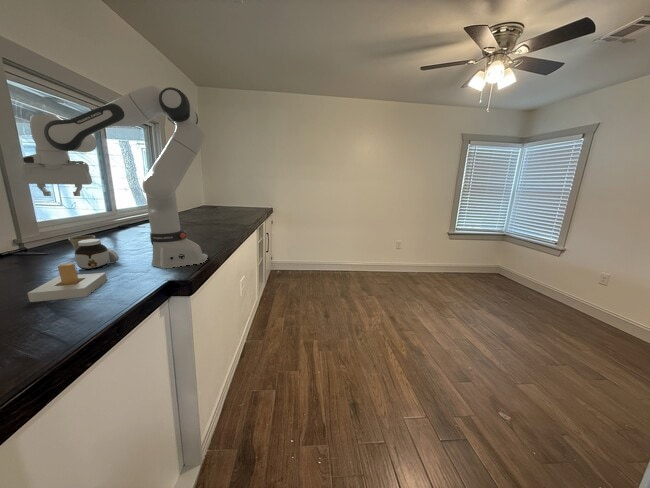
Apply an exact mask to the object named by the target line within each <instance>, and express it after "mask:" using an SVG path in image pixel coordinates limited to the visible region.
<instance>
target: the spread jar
mask: <svg viewBox="0 0 650 488" xmlns="http://www.w3.org/2000/svg"><path fill="white" fill-rule="evenodd" d="M78 245H79V247H78V248H77V249H76V251H75V250H74V259H75V262H76V265H77V267H78V268H80V269H81V270H84V271H96V270H100V269H103V268H105V267H107V265H109V263H112V264H114V263H116V262H119V260H120V257H119V254H118V253H117V252H116V251H114V250H113V249H110V248H107V246H105V245H104V244H103V243H102V242H101V238H100V239H99V238H94V239H87V240H82V241H79V242H78Z"/></svg>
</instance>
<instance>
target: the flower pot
mask: <svg viewBox="0 0 650 488" xmlns="http://www.w3.org/2000/svg"><path fill="white" fill-rule="evenodd" d="M87 239H96V236H95V235H80V236H79V235H78V236H74V237H73V236H72V237H69V238H68V239H67V240H68V241H69V242H70V243H71V244H72V247H73V249H74V252H75V251H76V249H77V248H78V247H79V245H78V242H79V241H82V240H87Z"/></svg>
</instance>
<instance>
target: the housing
mask: <svg viewBox="0 0 650 488" xmlns="http://www.w3.org/2000/svg"><path fill="white" fill-rule="evenodd" d="M77 276H78V280H79V283H78V284H75V285H64V286H63V285H62V281H61V277H60V275H58V276H56V277H54V278H52V279H50V280H49V281H47V282H45V283H43V284H41V285H40V286H37V287H36V288H34V289H33V290H30V291H28V292H27V297H28V300H29V303H36V302H44V301H45V302H46V301H55V300H66V299H68V300H69V299H75V298H77V299H78V298H87V297H88V296H90V294H92V293H93V292H94V291H95V289H96V290H97V289H98V288H99V287H101V286H102V285H103V284H104V283H106V282H107V281H108V277H107V273H106V272H98V273H97V272H96V273H86V274H83V273H82V274H77ZM100 285H101V286H100ZM91 292H92V293H91ZM86 296H87V297H86Z"/></svg>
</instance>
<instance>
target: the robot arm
mask: <svg viewBox="0 0 650 488" xmlns="http://www.w3.org/2000/svg"><path fill="white" fill-rule="evenodd" d="M159 117H166V118H167V120H168V121H169V122H170V123H172V124H173V125H174V126H175V130H174V132H173V133H172V135H171V137H170V138H169V140H168V141H167V143H166V145H165V147H164V148H163V150H162V151H161V153H160V154H159V156H158V157H157V158H156V161H155V162H154V163H153V165H152V167H150V170H149V171H148V173H147V174H146V175H145V177H144V179H143V180H142V189H143V191H144V193H145V197H146V205H147V216H148V222H149V227H150V233H149V237H150V243H151V246H152V261H151V266H153V267H155V268H156V267H157V268H160V269H162V270H163V269H164V270H165V269H166V268H167V269H173V267H175V268H180V266H182V267H187V266H186V265H190V266H194V265H193V264H197V265H201V264H200V263H202V264H204V263H206V262H207V261H208V259H209V258H208V257H209V256H208V254H207V253H203V251H202V249H201V246H200V245H199V244H198V243H196V242H194V241H192V240H190V239H188V237H187V231H186V230H182V229H181V224H180V217H179V210H178V201H177V195H176V191H177V189H178V188H179V186H180V184H181V183H182V181H183V180H184V178H185V176H186V174H187V172H188V170H189V169H190V167H191V165H192V164H193V162H194V160H195V159H196V157H197V155H198V154H199V152H200V149H202V145H203V144H204V143H203V142H204V140H205V137H206V135H205V131H204V130H203V128H202V127H201V126H200V125H199V117H198V114H197V112H196V111H195V108H194V105H193V104H192V102H191V101H190V99H189V98H188V96H187V94H185V93H184V92H183V91H181V90H180V89H179V88H175V87H170V86H169V87H165V88H163V89H162V90H161V89H160V88H159V87H157V86H154V85H148V86H143V87H140V88H137V89H134V90H132V91H130V92H128V93H126V94H124V95H122V96H120V97H118V98H116V99H114V100H112V101H111V102H108V103H106V104H104V105H102V106H98V107H97V108H94V109H92V110H90V111H87V112H85V113H82V114H79V115H78V116H75V117H73V118H70V119H69V118H68V119H62V118H61V117H60V116H58V115H57V114H51V113H36V114H35V113H34V114H33V115H31V116H30V118H29V119H30V120H29V127H30V132H31V138H32V140H33V141H34V143H35V150H34V151H35V153H34V154H30V155H26V156H23V157H19V162H20V163H21V164H22V165H21V166H20V174H21V179H22V181H23V183H25V184H26V185H36V186H37V188H38V189H39V190H40V191H41V192H42V194H43V196H44V197H51V196H52V192H51V191H48V189H46V185H74V187H75V188H76V189H75V191H72V193H73V196H74V197H80V196H81V191H82V189H83V185H92V183H93V179H92V175H91V174H90V167H89V164H88V163H87V162H85V161H83V160H71V158H70V157H71V156H70V153H69V152H76V153H90V152H93V151H94V150H96V149H97V147H98V138H97V137H96V135H95V134H96V133H98V132H101V131H102V130H104V129H108V128H111V127H117V126H118V127H131V128H134V127H139V126H142V125H145V124H147V123H149V122H151V121H153V120H154V119H156V118H159ZM207 258H208V259H207ZM206 260H207V261H206ZM205 261H206V262H205ZM203 262H204V263H203Z"/></svg>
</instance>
